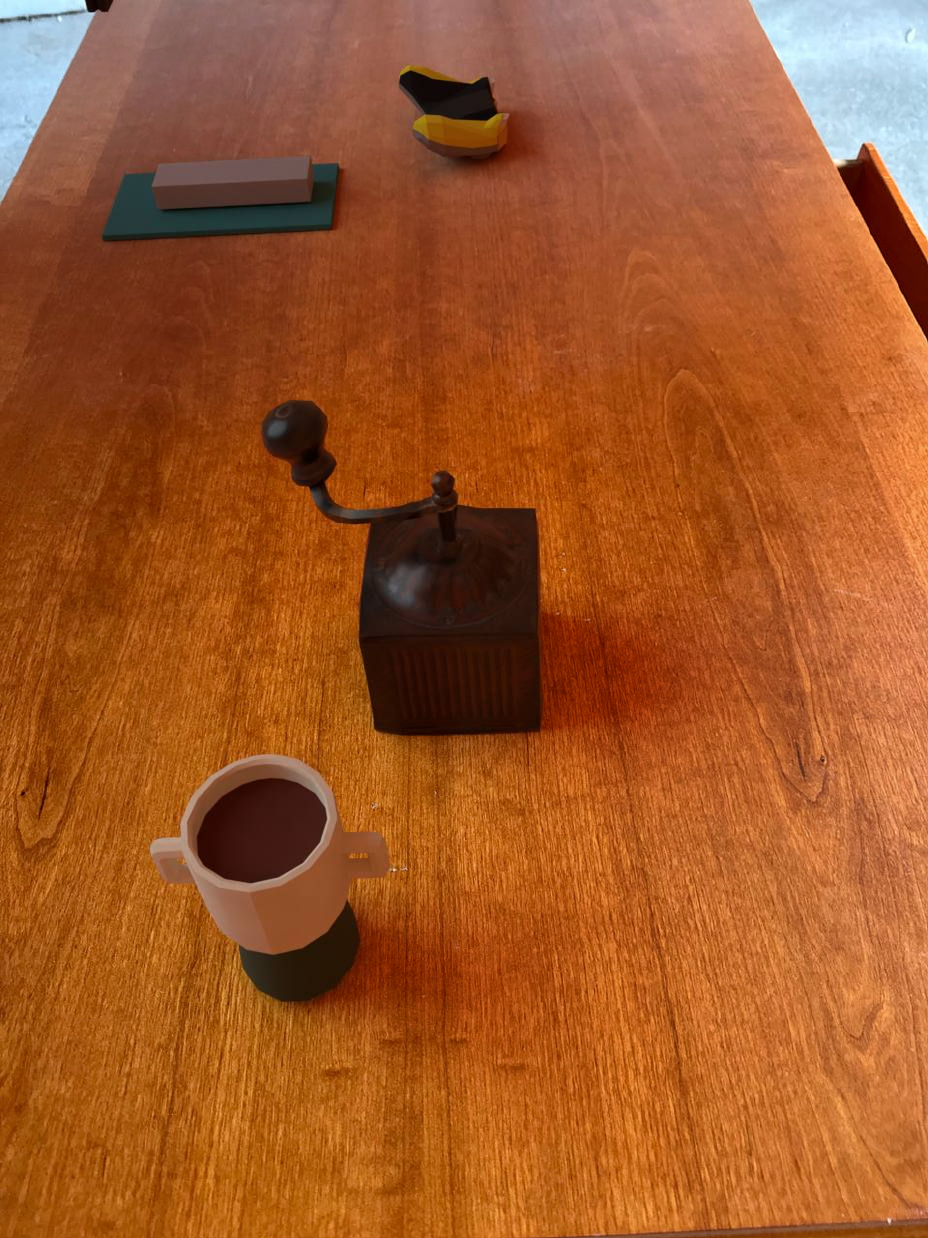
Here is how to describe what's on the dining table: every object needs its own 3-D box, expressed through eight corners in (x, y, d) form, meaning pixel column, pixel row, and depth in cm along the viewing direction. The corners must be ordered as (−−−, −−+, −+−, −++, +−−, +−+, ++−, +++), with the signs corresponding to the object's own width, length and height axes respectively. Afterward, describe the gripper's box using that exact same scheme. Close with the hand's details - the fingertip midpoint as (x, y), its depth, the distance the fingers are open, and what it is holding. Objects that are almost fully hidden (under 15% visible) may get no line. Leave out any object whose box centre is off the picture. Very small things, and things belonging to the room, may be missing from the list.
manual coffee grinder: (540, 599, 76) (541, 378, 62) (544, 735, 69) (546, 518, 55) (308, 603, 77) (260, 385, 63) (288, 737, 69) (228, 524, 56)
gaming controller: (418, 179, 114) (516, 166, 115) (414, 125, 110) (515, 112, 111) (399, 112, 124) (490, 101, 125) (395, 60, 120) (488, 49, 121)
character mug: (407, 885, 62) (384, 748, 53) (403, 1013, 58) (377, 888, 48) (209, 891, 63) (150, 756, 53) (190, 1018, 58) (121, 896, 48)
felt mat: (103, 240, 109) (101, 235, 109) (125, 179, 117) (124, 173, 117) (331, 229, 109) (331, 223, 108) (339, 168, 117) (338, 162, 116)
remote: (151, 186, 109) (307, 178, 109) (158, 162, 112) (310, 155, 112) (158, 212, 111) (311, 204, 111) (165, 188, 114) (314, 181, 114)
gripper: (-84, -251, 80) (1, 26, 93) (130, -257, 80) (184, 21, 93) (-54, -275, 85) (23, -9, 98) (148, -281, 85) (196, -14, 98)
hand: (101, 5), depth 96 cm, fingers closed
